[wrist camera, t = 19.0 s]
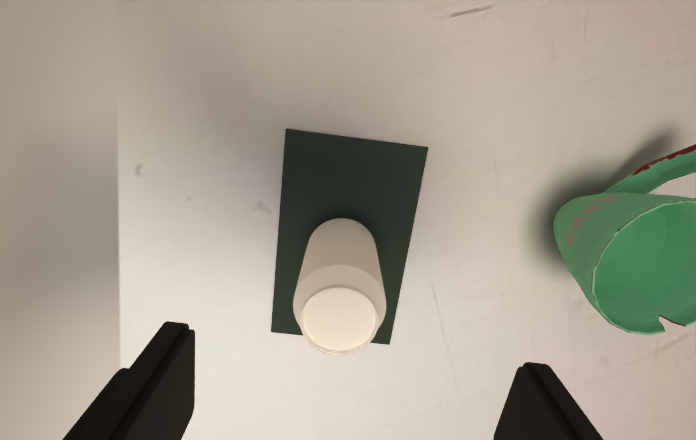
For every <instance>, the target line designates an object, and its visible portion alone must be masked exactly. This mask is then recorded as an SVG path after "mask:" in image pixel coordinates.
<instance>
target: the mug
mask: <svg viewBox="0 0 696 440" xmlns="http://www.w3.org/2000/svg"><path fill="white" fill-rule="evenodd" d="M694 172H696V144H695V145H693V146H690V147H688V148H685V149H682V150H680V151H677V152H675V153H672V154H670V155H667V156H665V157H662V158H659V159H657V160H654V161H652V162H649V163H647V164H645V165H644V166H642V167H641V168H639V169H638V170H636V171H635V172H633V173H632V174H630V175H629V176H627V177H626V178H624V179H623V180H621V181H620V182H618V183H617V184H615V185H614V186H612V187H611V188H609V189H608V190H606V191H605V192H603V193H601V194H594V195H588V196H581V197H576V198H574V199H571V200H569V201H567V202H566V203H565V204H564V205H562V206H561V207H560V209H559V210H558V211H557V213H556V214H555V217H554V220H553V232H554V236H555V239H556V243H557V245H558V248H559V251H560V253H561V255H562V257H563V260H564V262H565V264H566V266H567V268H568V270H569V271H570V273H571V274H572V275H573V277H574V278H575V279H576V281H577V282H578V284H579V286H580V287H581V289H582V291H583V293H584V294H585V296H586V298H587V299H588V301H589V302H590V303H591V305H592V306H593V307H594V308H595V309H596V310H597V311H598V312H599V313H600V314H601V315H602V316H603V317H604V318H605V319H606V320H607V321H608V322H609V323H610V324H612V325H614V326H616V327H618V328H620V329H622V330H624V331H626V332H629V333H637V334H645V335H652V334H658V333H664V332H665V329H664V327H663V325H662V324H661V323H660V322H659V316H660V317H663V318H665V319H667V320H669V321H670V322H672V323H674V324H678V325H682V326H685V327H686V326H688V325H691V324H693V323H695V322H696V198H694V199H693V198H686V197H679V196H670V195H653V194H647V193H649V192H650V191H652V190H654V189H655V188H657V187H658V186H660V185H662V184H663V183H665V182H667V181H669V180H672V179H675V178H678V177H682V176H685V175H688V174H691V173H694Z"/></svg>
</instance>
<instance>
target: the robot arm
mask: <svg viewBox="0 0 696 440" xmlns="http://www.w3.org/2000/svg"><path fill="white" fill-rule="evenodd" d="M194 391H195V332H194V330H190V329H189V326H188V324H185V323H176V322H165V323H164V324H163V325H162V327H161V328H160V329H159V331H158V332H157V333H156V334H155V336H154V337H153V338H152V340H151V341H150V342H149V344H148V345H147V346H146V347H145V349H144V350H143V351H142V353H141V354H140V355H139V357H138V358H137V359H136V361H135V362H134V363H133V364H132V366H131V367H130V368H129V369H127V368H122V369H120V370H119V371H118V372H117V373H116V374H115V375H114V376H113V377H112V379H111V380H110V381H109V382H108V384H107V385H106V386H105V387H104V389H103V390H102V391H101V392H100V393H99V395H98V396H97V397H96V399H95V400H94V401H93V402H92V403H91V405H90V406H89V407H88V409H87V410H86V411H85V412H84V413H83V415H82V416H81V417H80V419H79V420H78V421H77V422H76V424H75V425H74V426H73V427H72V428H71V430H70V431H69V432H68V434H67V435H66V436H65V437H64V438H63V440H181V439H182V436H183V434H184V432H185V430H186V428H187V426H188V424H189V421H190V419H191V417H192V414H193V410H194ZM494 440H603V438H602V437H601V436H600V434H599V433H598V432H597V430H596V429H595V427H594V426H593V425H592V423H591V422H590V421H589V419H588V418H587V417H586V415H585V414H584V412H583V411H582V410H581V408H580V407H579V406H578V404H577V403H576V402H575V400H574V399H573V397H572V396H571V395H570V393H569V392H568V391H567V389H566V388H565V387H564V385H563V384H562V382H561V381H560V380H559V378H558V377H557V376H556V374H555V373H554V372H553V370H552V369H551V368H550V367H549V366H548V365H546V364H540V363H531V362H526V363H525V364H524V365H523V367H519V368H518V369H517V372H516V375H515V377H514V380H513V383H512V386H511V389H510V391H509V394H508V397H507V400H506V403H505V405H504V408H503V411H502V414H501V417H500V419H499V422H498V425H497V428H496V431H495V433H494Z"/></svg>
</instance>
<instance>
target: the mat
mask: <svg viewBox="0 0 696 440" xmlns="http://www.w3.org/2000/svg"><path fill="white" fill-rule="evenodd" d="M427 151H428V147H421V146H414V145H406V144H398V143H391V142H383V141H375V140H368V139H360V138H353V137H345V136H337V135H330V134H322V133H314V132H307V131H299V130H291V129H286V135H285V148H284V162H283V176H282V189H281V203H280V217H279V230H278V244H277V258H276V271H275V285H274V299H273V312H272V326H271V332H276V333H286V334H295V335H303V333H302V331H301V328H300V326H299V324H298V323H297V321H296V318H295V315H294V311H293V299H294V295H295V291H296V287H297V283H298V279H299V275H300V271H301V267H302V264H303V260H304V256H305V252H306V248H307V245H308V242H309V239H310V237H311V235H312V233H313V232H314V231H315V230H316V228H317V227H319V226H320V225H321V224H323V223H324V222H326V221H329V220H332V219H337V218H346V219H351V220H354V221H357V222H359V223H360V224H362V225H363V226H365V227H366V228H367V229H368V231H369V232H370V233H371V235H372V237H373V239H374V241H375V245H376V249H377V254H378V260H379V265H380V270H381V276H382V281H383V287H384V292H385V298H386V313H385V317H384V320H383V322H382V324H381V325H380V327H379V328H378V329H377V332H376V334H375V336H374V338H373V339H372V341H371V342H370V343H379V344H388V345H389V344H390V339H391V334H392V329H393V324H394V319H395V314H396V309H397V303H398V298H399V293H400V288H401V283H402V278H403V273H404V268H405V263H406V258H407V253H408V248H409V243H410V237H411V232H412V227H413V222H414V217H415V212H416V207H417V202H418V197H419V192H420V187H421V182H422V176H423V171H424V166H425V161H426V156H427Z"/></svg>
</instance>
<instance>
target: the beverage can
mask: <svg viewBox="0 0 696 440" xmlns="http://www.w3.org/2000/svg"><path fill="white" fill-rule="evenodd" d="M293 311H294V315H295V318H296V321H297V323H298V324H299V326H300V328H301V331H302V333H303V335H304V337H305V339H306V340H307V341H308V342H309V343H310V344H311V345H312V346H313V347H315V348H316V349H318V350H320V351H322V352H324V353H328V354H332V355H346V354H351V353H354V352H357V351H359V350H361V349H363V348H364V347H365V346H367V345H368V344H369V343H370V342H371V341H372V339H373V338H374V336H375V334H376V332H377V329H378V328H379V327H380V325H381V324H382V322H383V320H384V317H385V313H386V298H385V292H384V287H383V281H382V276H381V270H380V265H379V260H378V254H377V249H376V245H375V241H374V239H373V237H372V235H371V233H370V232H369V231H368V229H367V228H366V227H365V226H363V225H362V224H360V223H359V222H357V221H354V220H351V219H346V218H337V219H332V220H329V221H326V222H324V223H323V224H321V225H320V226H319V227H317V228H316V230H315V231H314V232H313V233H312V235H311V237H310V239H309V242H308V245H307V248H306V252H305V256H304V260H303V264H302V267H301V271H300V275H299V279H298V283H297V287H296V291H295V295H294V299H293Z"/></svg>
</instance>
